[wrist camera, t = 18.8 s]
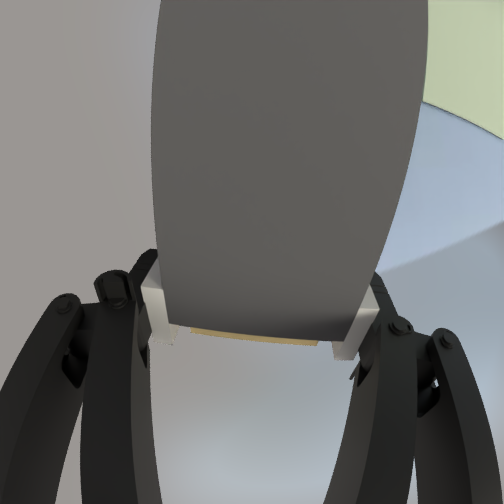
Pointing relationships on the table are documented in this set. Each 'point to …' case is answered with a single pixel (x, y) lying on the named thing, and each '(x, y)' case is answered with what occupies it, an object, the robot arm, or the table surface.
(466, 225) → the table surface
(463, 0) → the mat
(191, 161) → the plug
